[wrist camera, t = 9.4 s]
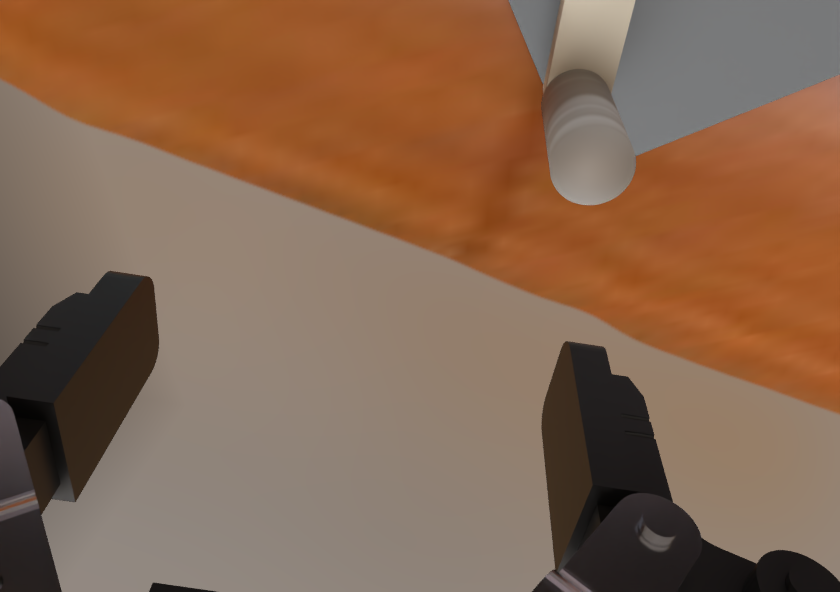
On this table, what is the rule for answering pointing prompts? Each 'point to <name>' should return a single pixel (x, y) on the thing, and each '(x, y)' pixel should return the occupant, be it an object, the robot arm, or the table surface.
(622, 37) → the lever
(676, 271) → the table surface
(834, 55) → the board
